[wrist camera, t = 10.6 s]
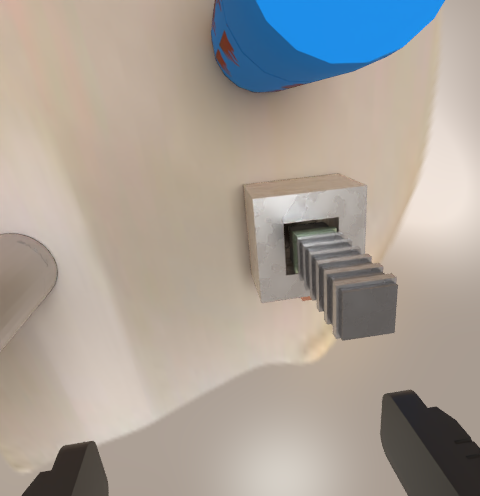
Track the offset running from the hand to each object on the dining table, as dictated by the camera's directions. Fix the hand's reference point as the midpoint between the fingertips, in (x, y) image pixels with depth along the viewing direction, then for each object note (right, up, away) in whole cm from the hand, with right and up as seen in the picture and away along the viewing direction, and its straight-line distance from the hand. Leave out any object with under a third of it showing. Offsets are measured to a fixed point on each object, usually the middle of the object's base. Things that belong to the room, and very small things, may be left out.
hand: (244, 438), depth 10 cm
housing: (+7, +8, +37) cm, 38 cm away
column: (+7, +6, +31) cm, 32 cm away
